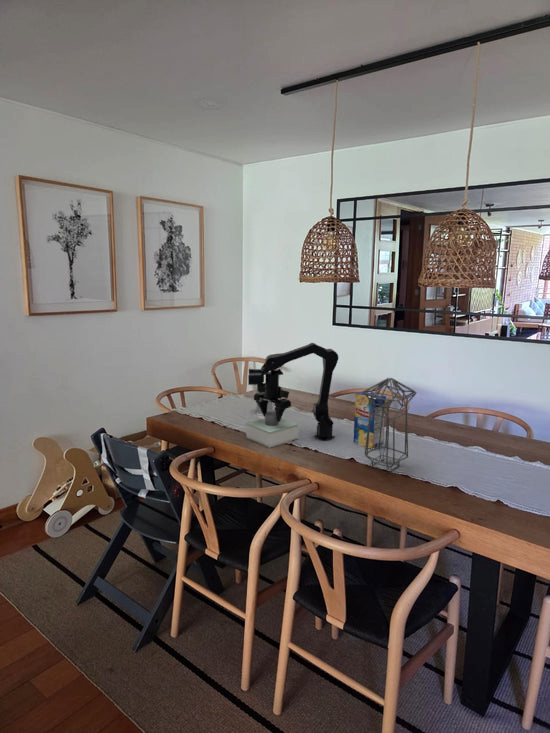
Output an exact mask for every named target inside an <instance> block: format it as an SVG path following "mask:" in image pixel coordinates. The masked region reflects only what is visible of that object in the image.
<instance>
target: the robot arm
mask: <svg viewBox="0 0 550 733" xmlns="http://www.w3.org/2000/svg"><path fill="white" fill-rule="evenodd" d="M311 354H312V355H313V354H314V355H316V356H318V357H320V358H321V359H322V367H323V368H322V369H323V370H322V375H321V376H322V377H321V380H320V381H321V382H320V388H319V394H318V399H317V402H313V407H312V410H311V413H312V414H313V417H314V419H315V420H316V422H317V425H316V435H314V438H316V439H317V438H318V439H319V440H322V441H328V440H331V439H335V436H334V435H333V427H334V426H333V425H334V421H333V419H332V418H331V417H330V415H329V398H330V392H331V384H332V378H333V375H334V370H335V368H336V366H337V364H338V361H339V354H338V352H336V351H335V350H334V349H333V348H325V347H323V346H320V345H318V344H316V343H315V342H310V343H308V344H306V345H303V346H301V347H297V348H295V349H292V350H289V351H286V352H282V353H275V354H274V353H272V354H269V355H267V356H266V358H265V361H264V364H263V365H262V366H261V367H260V368H257V369H255V368H248V374H247V375H248V379H247V380H248V381H247V382H248V383H247V384H248V386H254V385H255V386H257V385H261V384H262V383H265V386H264V387H263V389H265V392H261V393H257V392H256V393H255V394H254V395H253V400H254V401H255V403H256V405H257V404H258V406H259V407H260V409H261V411H262V413H263V415H264V416H263V415H262V416H263V417H264V418H265V413H267V404H268V402H269V401H270V402H272V404H273V403H274V404H275V405H274V412H276V417H277V421H278V422H280V420H281V419H282V417H283V415H284V412H285V411H286V409H288V408H290V407H291V406H292V402H291V400H290V399H288V398H289V395H290V391H287V390H284V389H283V390H282V388H281V387H282V386H280V384H279V383H280V381H279V378H280V375H281V376H282V375H284V372H283V371H282V370H281V369H280V368H282V367H283V366H284V365H285V364H287V363H289V362H292V361H295V360H298V359H300V358H301V359H302V358H304V357H307V356H309V355H311ZM279 399H280V400H279Z"/></svg>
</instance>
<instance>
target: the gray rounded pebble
mask: <svg viewBox="0 0 550 733" xmlns="http://www.w3.org/2000/svg"><path fill="white" fill-rule="evenodd" d="M264 418H265V424H266V425H268V426H276V425H278V424H279V422H278V421H277V417H276V412H275V411H272V412H267V413H265V417H264Z"/></svg>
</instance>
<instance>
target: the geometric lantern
mask: <svg viewBox="0 0 550 733" xmlns="http://www.w3.org/2000/svg"><path fill="white" fill-rule="evenodd" d="M402 387H403V388H405V389H407V390H405V389H403V388H402ZM386 389H388V390H389V391H390V393H391V399H390V398H386V399H383V398H382V396H384V393H385V391H386ZM393 390H394V391H393ZM381 391H382V393H381ZM361 392H362V394H364V395H365V396H366V397H367V398H368V399H369V400H370V410H369V412H370V413H369V423H368V431H367V438H366V446H365V447H364V456H365V457H366V458H367V459H368V460H370V462H371V464H372V466H374V465H373V463H375V464H377V465H380V466H383V467H386V468H387V470H389V471H390V470H392V469H393V468H392V467H393V466H395V465H396V464H397V463H398V464H399V465H400V462H401V461H404V460H406V459H407V458H409V440H408V439H409V437H408V435H409V434H408V433H409V432H408V413H409V412H408V404H409V403H410V401H411V400H413V398H414V397H415V396H416V395H417V391H416V390H414V389H412V388H411V387H408V386H407V385H405V384H403V383H402V382H400V381H398V380H396V379H395V378H393V377H387V378H386V379H383V380H381V381H380V382H377V383H376V384H373V385H372V386H370V387H369V388H366V389H364V390H362V391H361ZM366 392H371V394H368V393H366ZM372 393H375V395H372ZM380 393H381V394H380ZM401 393H402V395H401ZM406 393H409V394H406ZM367 395H368V396H370V397H371V399H370V398H369V397H368V396H367ZM376 395H377V396H376ZM378 395H381V397H380V398H379V397H378ZM372 398H373V401H372ZM374 398H376V399H379V404H375V403H374ZM396 399H397V400H396ZM381 400H386V403H383V402H382V401H381ZM405 400H406V402H405ZM380 401H381V402H382V404H380ZM400 401H401V402H400ZM392 402H397V403H398V404H399V405H400V409H399V408H396V407H391V406H390V405H391V404H392ZM371 403H373V405H375V406H376V405H379V406H381V407H382V416H380V415H376V414H373V413H372V412H373V410H376V409H378V408H381V407H378V408H376V409H374V408H375V406H374V408H373V410H371ZM385 404H386V406H385ZM387 404H388V405H387ZM382 405H384V406H382ZM403 407H405V410H403V409H402V408H403ZM384 408H385V410H384ZM386 409H387V410H386ZM390 409H393V410H397V412H396V414H395V415H394V417H393V418H392V417H389V411H390ZM371 411H372V412H371ZM399 412H404V414H401V415H398V414H399ZM383 413H385V417H383ZM371 414H373V415H376V416H380V417H382V418H381V428H380V437H379V445H378V447H376V448H374V449H372V450H371V449H370V450H369V449H368V445H369V432H370V419H371ZM403 416H405V427H404V451H401V450H398V449H395V446H396V445H395V444H396V442H395V438H396V437H395V434H396V433H395V432H396V431H395V426H396V424H395V421H396V419H399V418H400V417H403ZM383 418H385V420H386V421H385V422H386V424H385V439H384V440H385V444H384V445H383V446H380V440H381V431H382V422H383ZM390 420H391V421H392V447H390V446H389V440H390V439H389V436H390ZM380 448H383V452H381V449H380ZM375 450H378V452H379V455H378V456H377V457H371V456H370V455H369V453H372V452H374V451H375ZM389 450H390V451H392V456H390V455H388V454H389ZM385 451H386V453H385ZM395 452H398V453H400V454H402V455H401V456H400V457H399V458H396V457H395ZM384 454H386V455H384ZM403 456H405V457H403ZM385 457H386V458H385ZM384 458H385V460H386V461H380V459H381V460H382V459H383V460H384ZM388 459H392V462H393V463H390V462H387V461H389V460H388ZM395 460H397V461H395ZM377 461H378V462H377ZM372 466H371V467H372Z"/></svg>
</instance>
